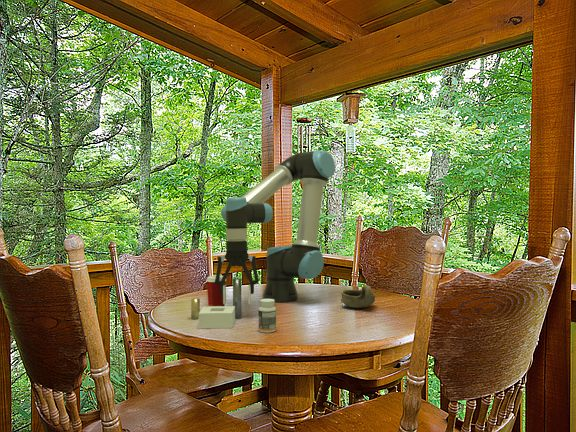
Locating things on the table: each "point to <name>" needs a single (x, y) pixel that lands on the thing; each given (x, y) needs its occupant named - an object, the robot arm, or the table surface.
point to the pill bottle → (267, 316)
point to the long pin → (237, 298)
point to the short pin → (195, 308)
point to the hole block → (217, 317)
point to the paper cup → (214, 292)
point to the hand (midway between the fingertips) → (237, 303)
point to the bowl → (358, 297)
